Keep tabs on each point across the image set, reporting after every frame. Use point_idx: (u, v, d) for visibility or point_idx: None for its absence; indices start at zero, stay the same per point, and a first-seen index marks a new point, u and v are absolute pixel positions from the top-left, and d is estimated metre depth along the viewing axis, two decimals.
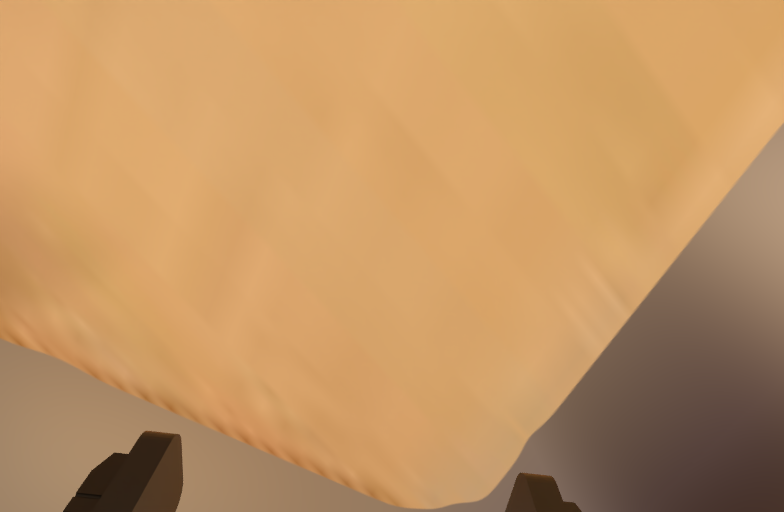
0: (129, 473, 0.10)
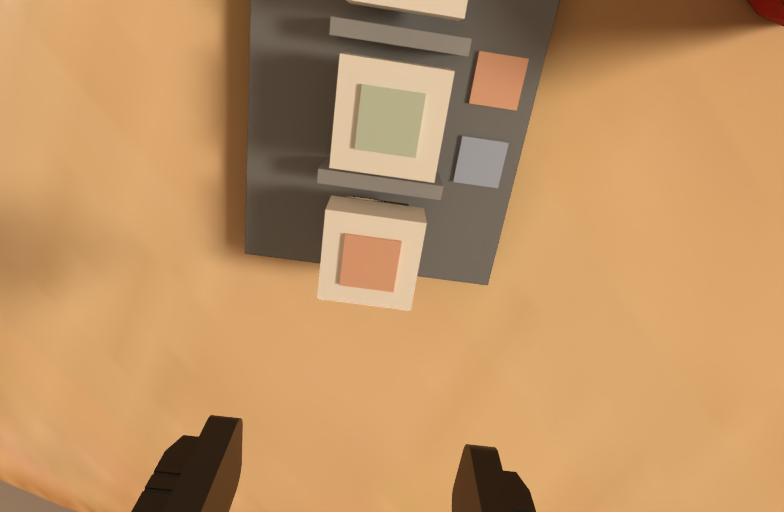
0: (203, 453, 0.10)
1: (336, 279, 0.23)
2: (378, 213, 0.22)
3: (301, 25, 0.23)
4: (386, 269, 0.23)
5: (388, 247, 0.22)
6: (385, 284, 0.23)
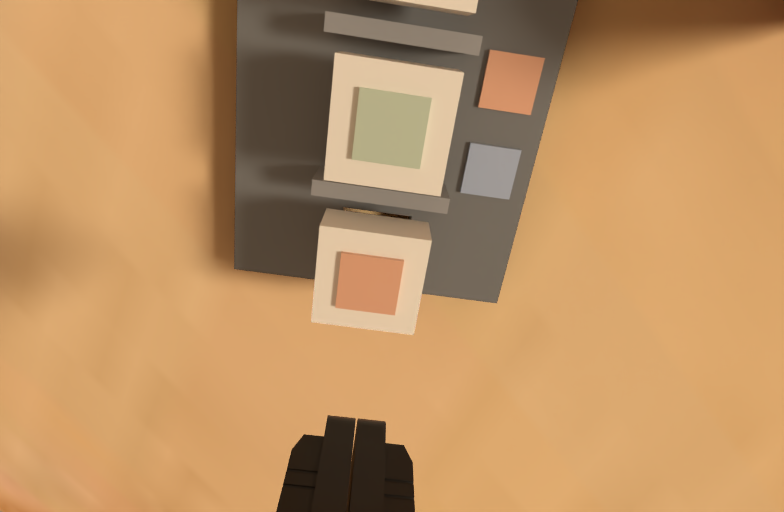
0: (332, 451, 0.11)
1: (332, 301, 0.21)
2: (378, 229, 0.20)
3: (293, 21, 0.20)
4: (387, 290, 0.20)
5: (389, 267, 0.20)
6: (386, 307, 0.21)
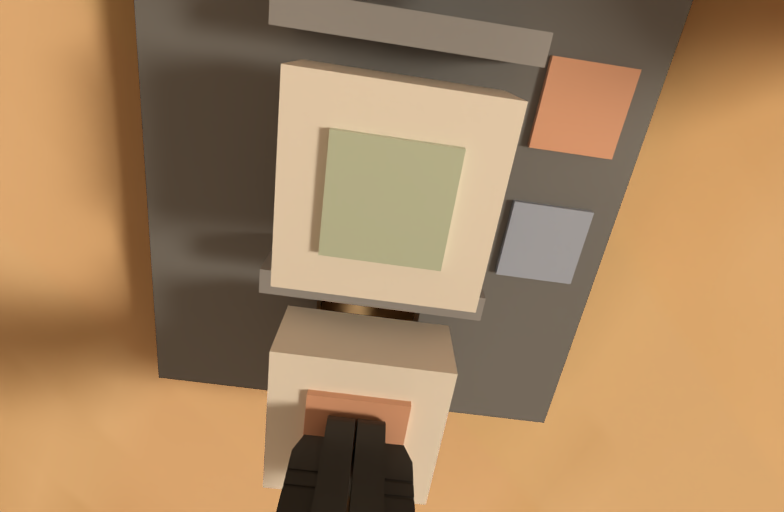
0: (332, 451, 0.11)
1: None
2: (368, 351, 0.12)
3: (228, 8, 0.12)
4: None
5: (387, 414, 0.12)
6: None
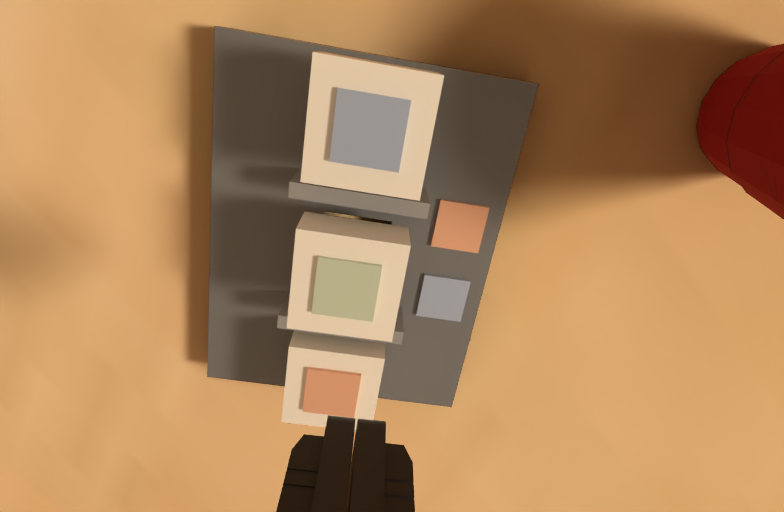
0: (332, 451, 0.11)
1: (300, 406, 0.24)
2: (339, 347, 0.23)
3: (263, 172, 0.23)
4: (347, 398, 0.24)
5: (348, 379, 0.23)
6: (346, 411, 0.24)
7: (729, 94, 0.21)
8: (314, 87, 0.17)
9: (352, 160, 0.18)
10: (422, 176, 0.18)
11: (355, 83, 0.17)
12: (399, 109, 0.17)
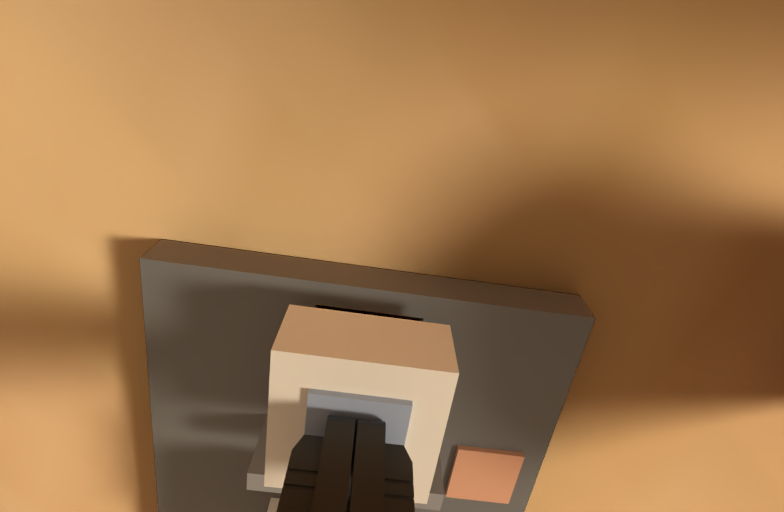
0: (332, 451, 0.11)
1: None
2: None
3: (219, 419, 0.17)
4: None
5: None
6: None
7: None
8: (276, 387, 0.12)
9: None
10: (430, 479, 0.13)
11: (333, 383, 0.12)
12: (395, 416, 0.12)
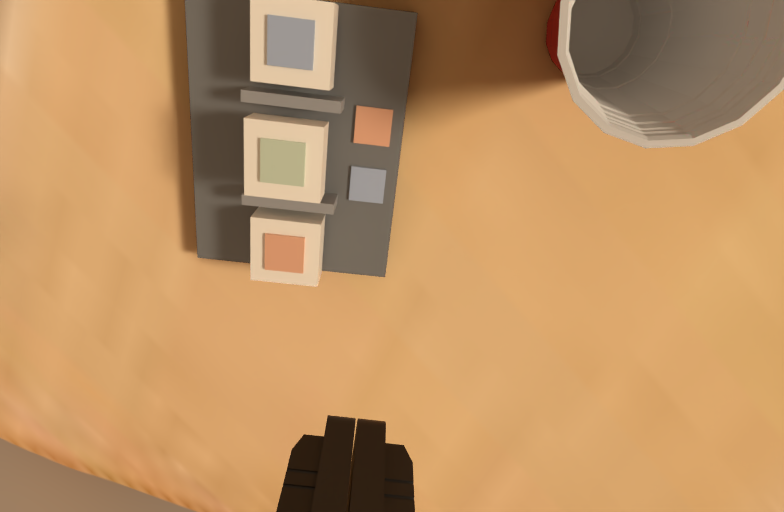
0: (332, 451, 0.11)
1: (262, 265, 0.33)
2: (288, 218, 0.32)
3: (226, 91, 0.31)
4: (296, 257, 0.32)
5: (296, 242, 0.32)
6: (296, 268, 0.33)
7: (554, 11, 0.29)
8: (253, 15, 0.27)
9: (281, 63, 0.28)
10: (329, 73, 0.28)
11: (278, 11, 0.27)
12: (307, 26, 0.27)
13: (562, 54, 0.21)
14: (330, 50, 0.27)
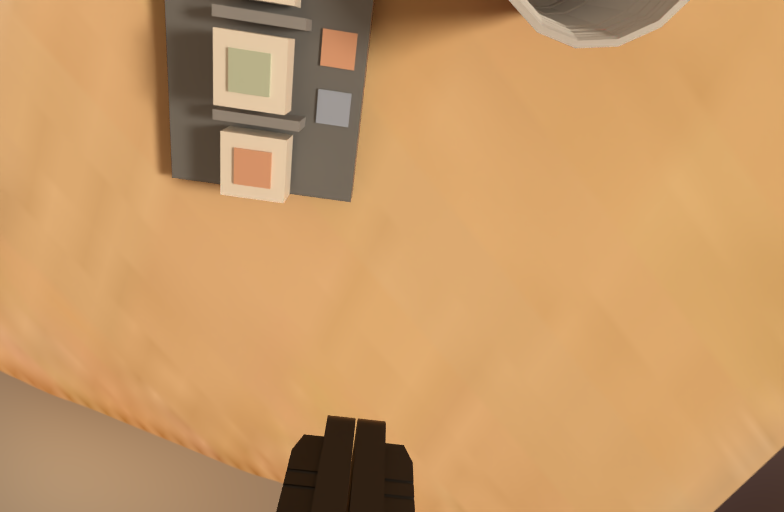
0: (332, 451, 0.11)
1: (232, 180, 0.35)
2: (256, 134, 0.34)
3: (200, 10, 0.33)
4: (263, 172, 0.34)
5: (263, 156, 0.34)
6: (264, 183, 0.35)
7: None
8: None
9: None
10: None
11: None
12: None
13: None
14: None
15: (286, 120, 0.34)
